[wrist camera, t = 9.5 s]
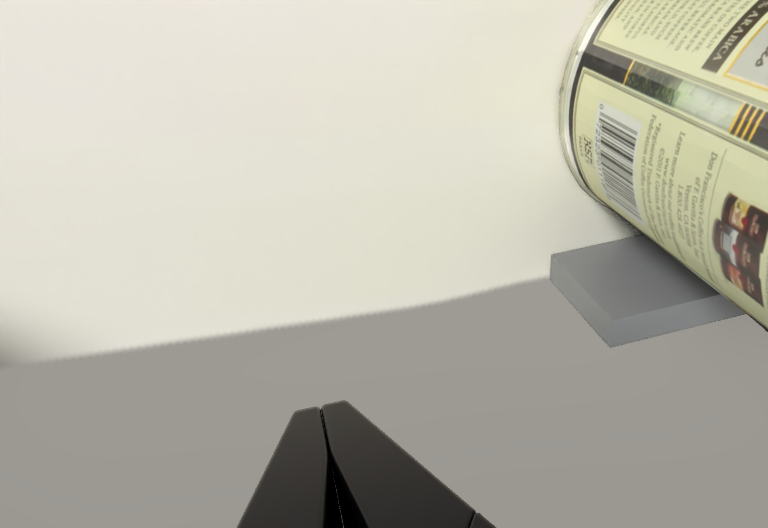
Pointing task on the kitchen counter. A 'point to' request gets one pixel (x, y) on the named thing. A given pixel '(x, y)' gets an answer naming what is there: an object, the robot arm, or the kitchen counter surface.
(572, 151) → the coffee can
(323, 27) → the kitchen counter surface
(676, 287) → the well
